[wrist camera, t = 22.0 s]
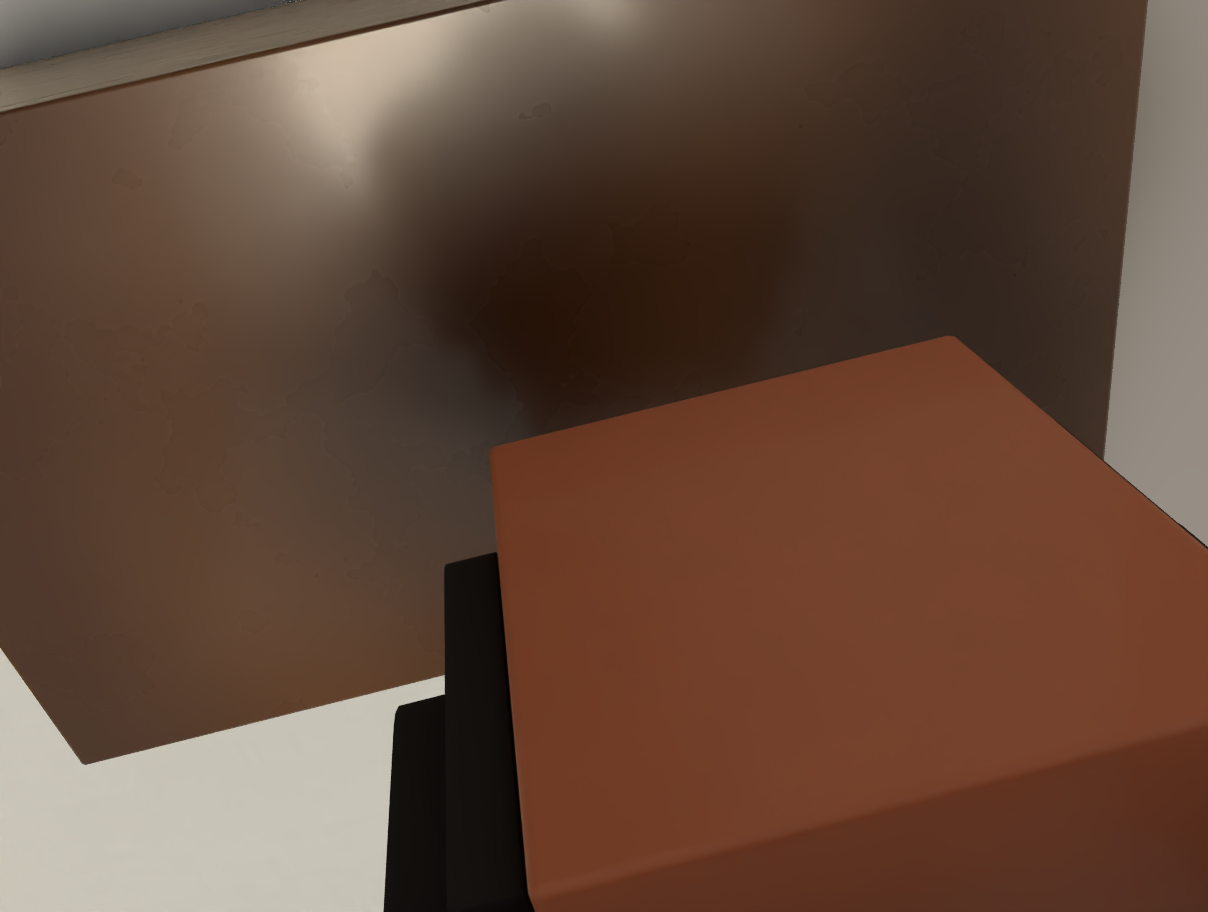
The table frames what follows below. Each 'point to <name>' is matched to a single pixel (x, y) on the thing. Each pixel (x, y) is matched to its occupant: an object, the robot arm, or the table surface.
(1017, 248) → the cabinet
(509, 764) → the robot arm
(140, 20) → the table surface
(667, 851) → the block
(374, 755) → the table surface
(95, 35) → the table surface
